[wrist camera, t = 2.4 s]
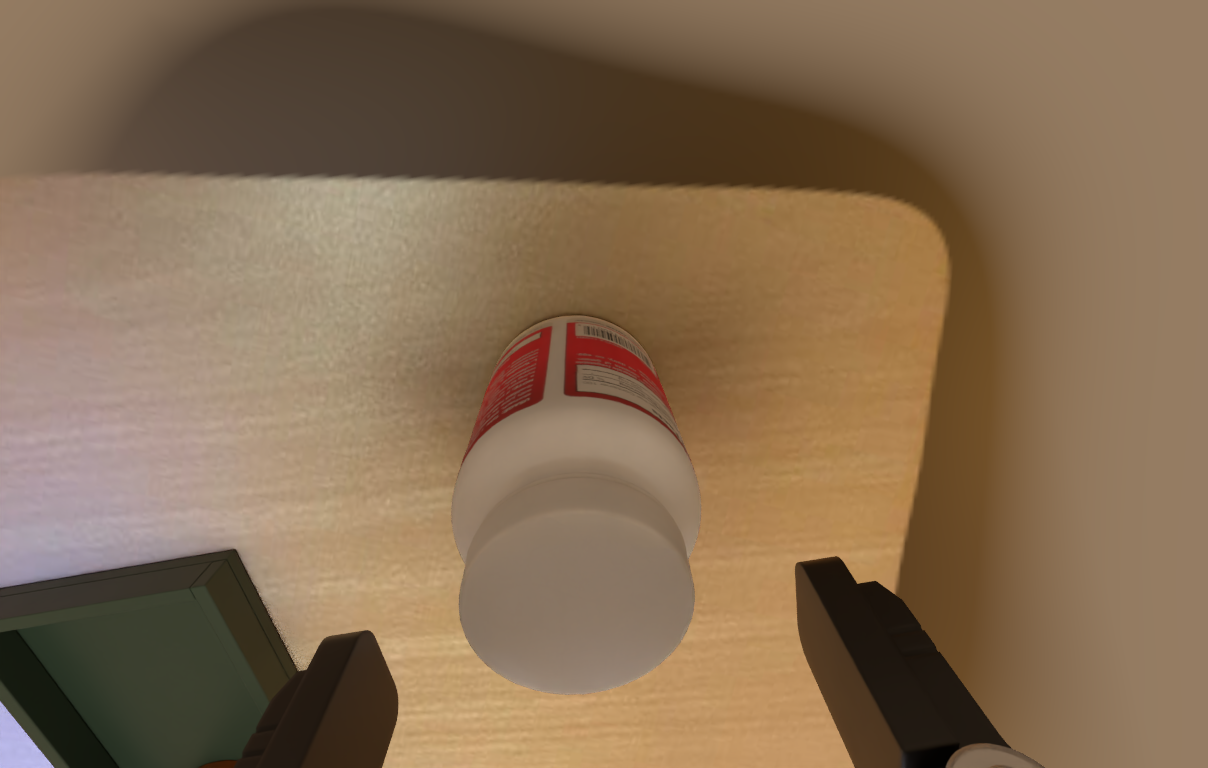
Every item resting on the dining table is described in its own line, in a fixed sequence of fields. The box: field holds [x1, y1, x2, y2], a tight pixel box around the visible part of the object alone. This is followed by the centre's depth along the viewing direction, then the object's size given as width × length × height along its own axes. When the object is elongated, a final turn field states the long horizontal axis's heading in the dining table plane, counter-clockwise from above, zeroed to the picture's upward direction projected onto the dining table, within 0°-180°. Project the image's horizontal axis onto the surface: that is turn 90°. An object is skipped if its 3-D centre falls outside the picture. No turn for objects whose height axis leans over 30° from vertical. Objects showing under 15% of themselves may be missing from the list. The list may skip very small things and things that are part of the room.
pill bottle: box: [452, 315, 701, 695], centre depth 16 cm, size 6×6×11 cm
